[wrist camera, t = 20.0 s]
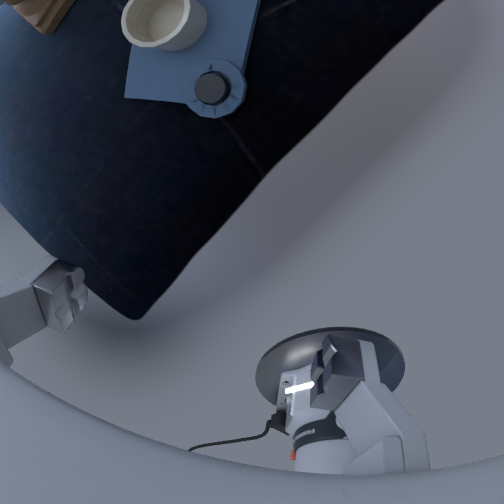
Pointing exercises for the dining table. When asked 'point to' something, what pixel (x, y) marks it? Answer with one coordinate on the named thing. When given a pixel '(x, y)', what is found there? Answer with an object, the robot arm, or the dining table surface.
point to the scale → (199, 61)
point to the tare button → (211, 88)
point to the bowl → (164, 23)
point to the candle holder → (41, 12)
